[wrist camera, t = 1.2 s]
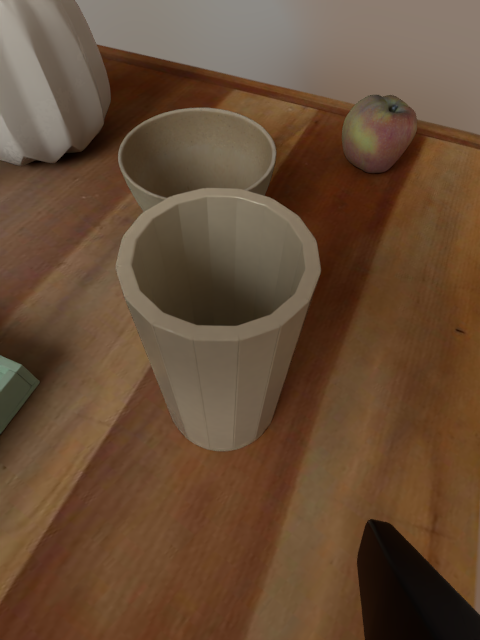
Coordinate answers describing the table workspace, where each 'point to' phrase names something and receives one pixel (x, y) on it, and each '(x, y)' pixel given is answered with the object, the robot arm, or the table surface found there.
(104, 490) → the table surface
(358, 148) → the apple
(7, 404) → the serving tray
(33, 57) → the vase
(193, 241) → the rice cup
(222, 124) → the flower pot
